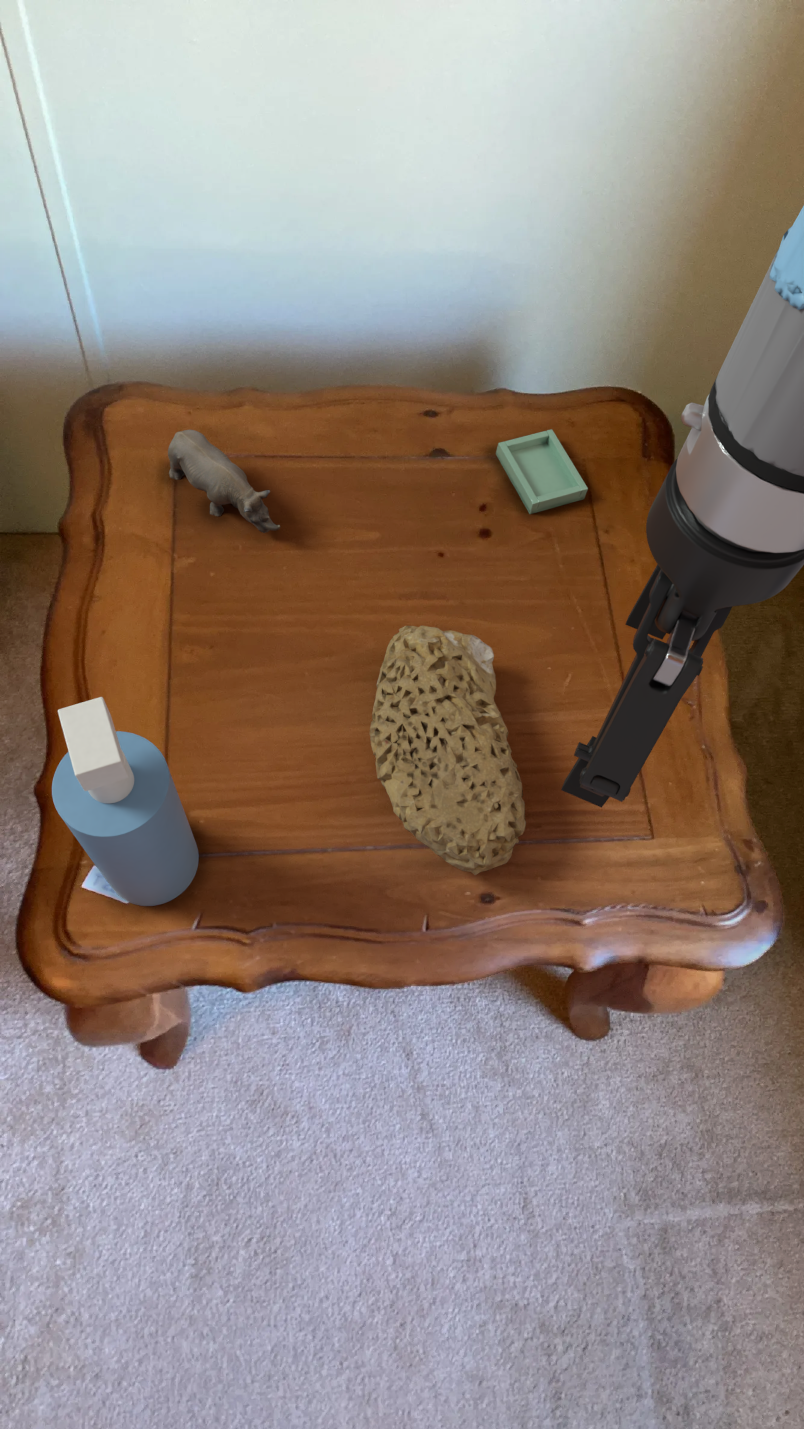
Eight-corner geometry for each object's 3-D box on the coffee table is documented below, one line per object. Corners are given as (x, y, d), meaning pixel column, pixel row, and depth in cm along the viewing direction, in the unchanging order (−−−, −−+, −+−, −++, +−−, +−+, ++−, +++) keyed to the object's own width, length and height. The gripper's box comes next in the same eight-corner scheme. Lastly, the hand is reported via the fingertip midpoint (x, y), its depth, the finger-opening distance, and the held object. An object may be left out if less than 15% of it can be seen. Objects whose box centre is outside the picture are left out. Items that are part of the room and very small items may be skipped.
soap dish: (583, 500, 90) (588, 488, 89) (529, 516, 89) (533, 503, 87) (548, 441, 93) (552, 428, 92) (494, 455, 92) (498, 442, 90)
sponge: (371, 662, 81) (342, 858, 69) (396, 602, 75) (369, 805, 63) (510, 699, 84) (506, 896, 71) (544, 644, 78) (547, 848, 65)
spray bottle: (210, 887, 70) (170, 781, 51) (118, 920, 68) (42, 823, 49) (184, 807, 73) (137, 677, 54) (95, 836, 71) (15, 713, 52)
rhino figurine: (262, 562, 84) (259, 520, 78) (161, 477, 87) (150, 431, 82) (294, 537, 85) (293, 494, 80) (193, 454, 89) (185, 408, 83)
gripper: (738, 297, 47) (618, 548, 66) (587, 677, 36) (495, 847, 55) (880, 348, 47) (717, 587, 65) (768, 753, 36) (612, 899, 54)
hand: (615, 707), depth 60 cm, fingers open, 13 cm apart
